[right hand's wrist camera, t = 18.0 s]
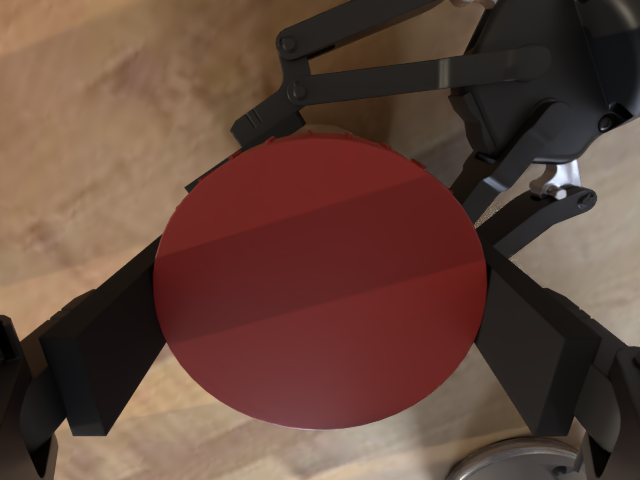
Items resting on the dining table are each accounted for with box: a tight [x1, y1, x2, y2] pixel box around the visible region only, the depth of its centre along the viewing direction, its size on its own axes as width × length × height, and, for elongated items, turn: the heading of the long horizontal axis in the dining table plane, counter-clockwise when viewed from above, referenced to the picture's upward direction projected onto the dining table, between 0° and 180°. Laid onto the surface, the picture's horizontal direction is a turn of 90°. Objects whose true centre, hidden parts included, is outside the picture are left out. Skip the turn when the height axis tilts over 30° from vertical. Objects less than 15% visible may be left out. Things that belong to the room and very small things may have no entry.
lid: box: [153, 130, 487, 430], centre depth 11 cm, size 10×10×2 cm
